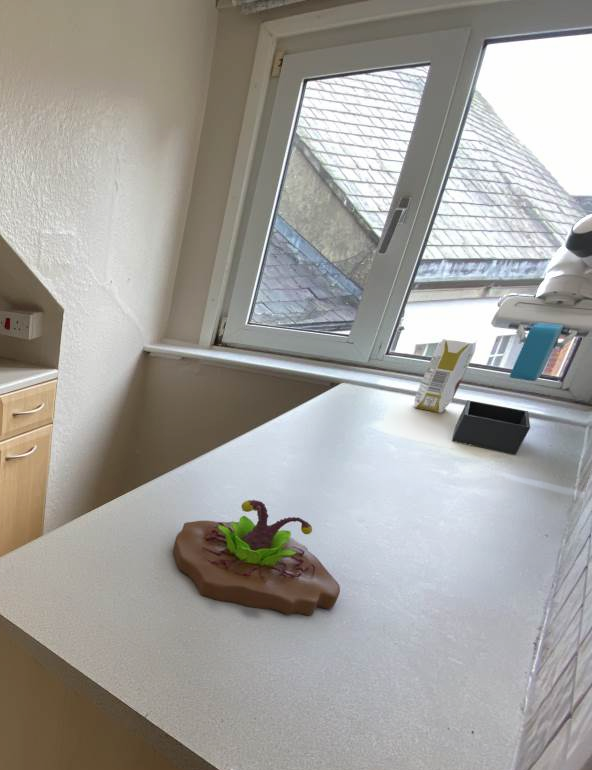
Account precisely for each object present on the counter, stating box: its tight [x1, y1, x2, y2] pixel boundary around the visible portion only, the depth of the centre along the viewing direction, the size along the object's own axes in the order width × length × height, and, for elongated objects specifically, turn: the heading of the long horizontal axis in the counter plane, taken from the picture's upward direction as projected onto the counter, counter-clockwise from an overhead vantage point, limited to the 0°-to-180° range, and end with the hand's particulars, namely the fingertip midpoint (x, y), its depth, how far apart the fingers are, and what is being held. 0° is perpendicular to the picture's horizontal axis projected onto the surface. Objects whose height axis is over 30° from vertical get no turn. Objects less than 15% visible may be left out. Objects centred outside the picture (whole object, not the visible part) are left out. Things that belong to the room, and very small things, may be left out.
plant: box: [172, 499, 341, 616], centre depth 76 cm, size 20×20×11 cm
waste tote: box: [451, 400, 531, 456], centre depth 130 cm, size 11×16×7 cm
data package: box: [509, 323, 564, 382], centre depth 128 cm, size 12×4×12 cm, turn 130°
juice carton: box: [413, 335, 477, 414], centre depth 148 cm, size 8×9×19 cm
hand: (540, 345), depth 128 cm, fingers closed on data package, 5 cm apart
